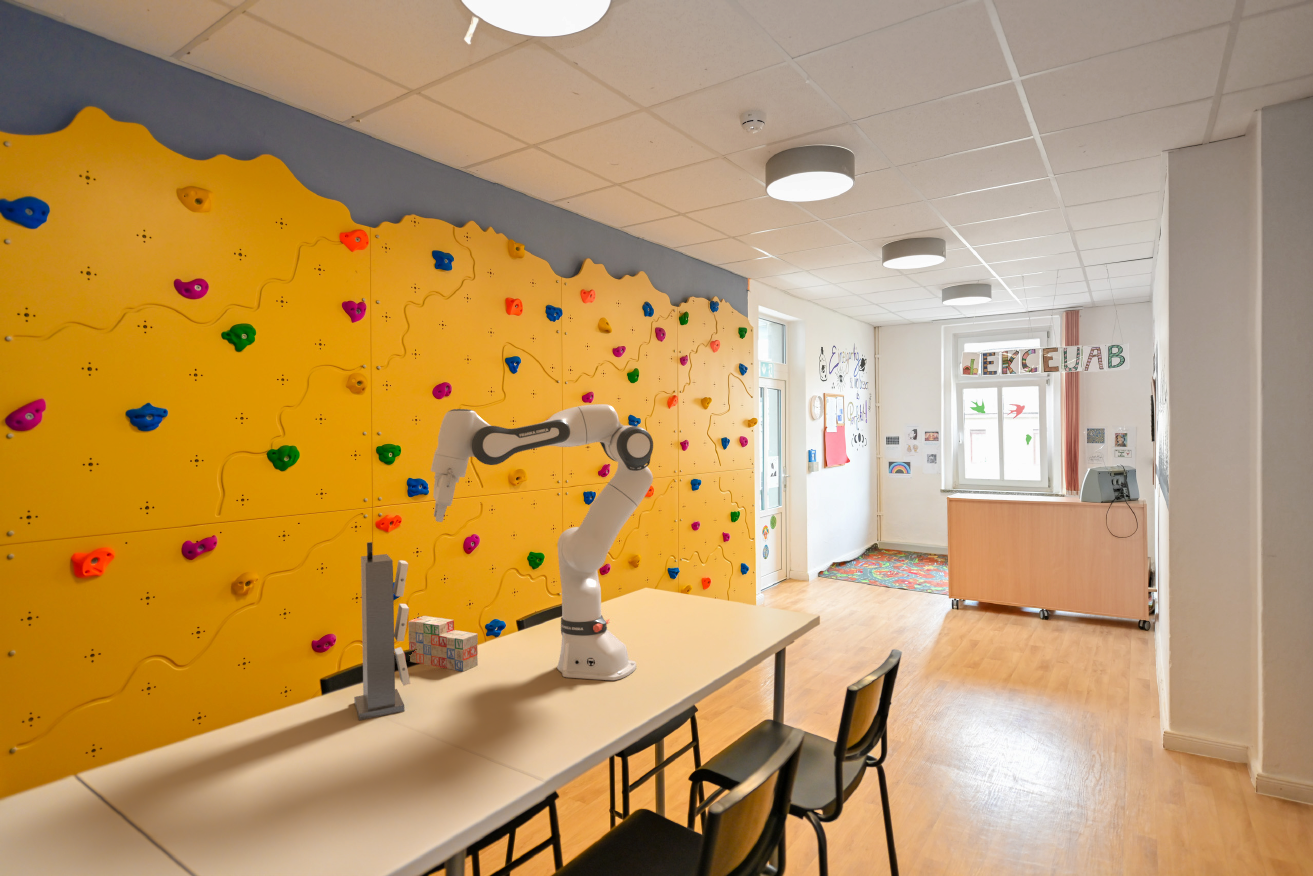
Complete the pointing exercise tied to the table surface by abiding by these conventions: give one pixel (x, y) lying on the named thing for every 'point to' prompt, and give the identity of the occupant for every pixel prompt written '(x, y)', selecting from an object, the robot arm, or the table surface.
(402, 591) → the top rocker
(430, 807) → the table surface
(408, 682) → the bottom rocker
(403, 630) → the middle rocker
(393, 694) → the power strip
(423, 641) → the stack of blocks
